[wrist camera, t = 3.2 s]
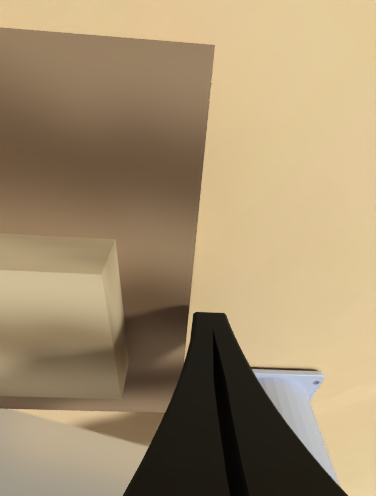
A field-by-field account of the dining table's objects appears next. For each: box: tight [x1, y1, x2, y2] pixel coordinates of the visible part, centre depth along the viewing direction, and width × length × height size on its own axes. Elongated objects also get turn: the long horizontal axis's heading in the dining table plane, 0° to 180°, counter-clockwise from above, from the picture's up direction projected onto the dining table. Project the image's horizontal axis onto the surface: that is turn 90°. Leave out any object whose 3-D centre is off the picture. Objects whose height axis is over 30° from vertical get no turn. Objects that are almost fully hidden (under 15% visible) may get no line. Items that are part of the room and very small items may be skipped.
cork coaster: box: [0, 234, 129, 399], centre depth 11 cm, size 8×8×2 cm
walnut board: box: [0, 28, 215, 413], centre depth 13 cm, size 20×14×3 cm
